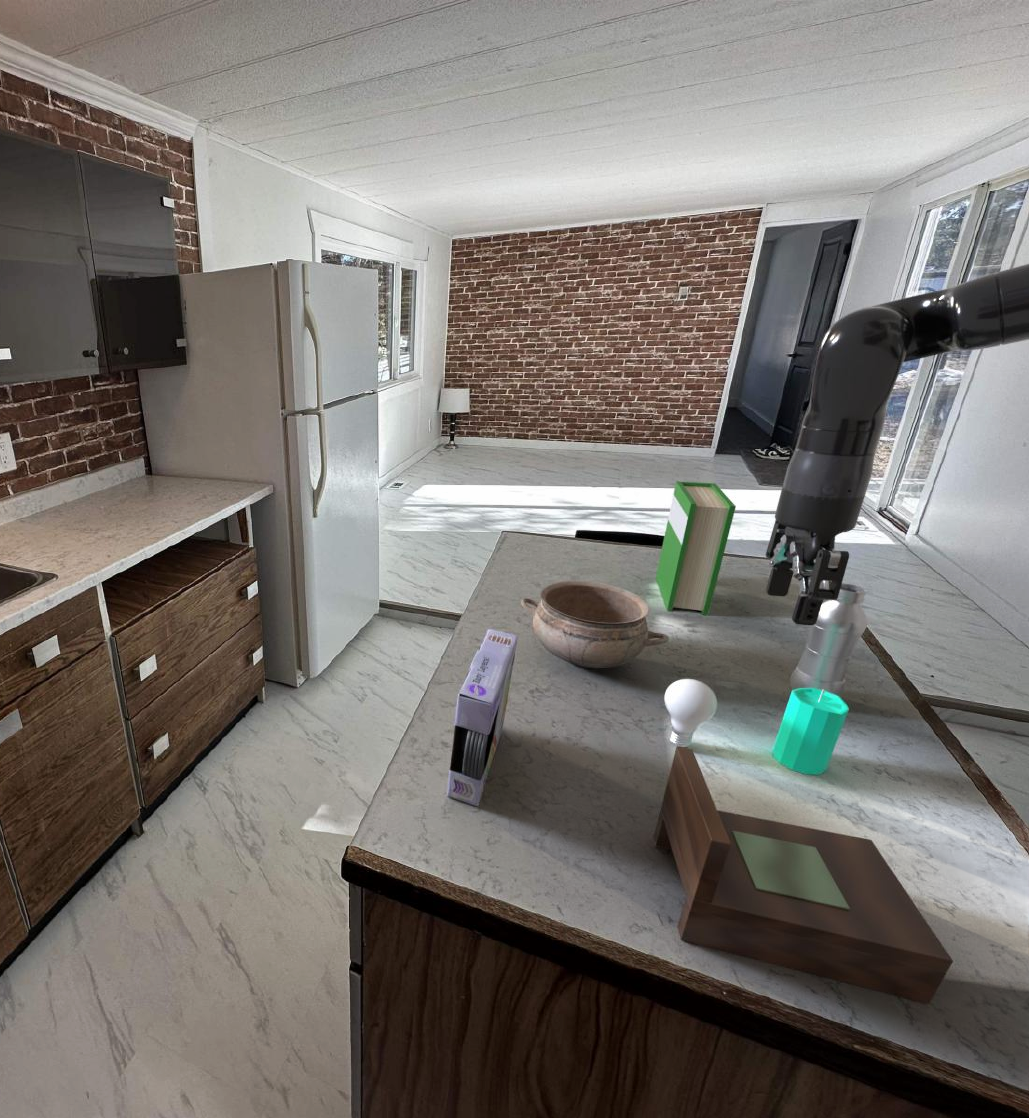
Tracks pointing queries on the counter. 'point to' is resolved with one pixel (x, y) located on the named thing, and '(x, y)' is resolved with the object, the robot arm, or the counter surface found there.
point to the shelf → (794, 894)
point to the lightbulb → (688, 708)
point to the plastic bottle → (832, 642)
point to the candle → (809, 730)
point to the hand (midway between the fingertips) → (788, 608)
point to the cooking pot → (592, 623)
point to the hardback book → (694, 545)
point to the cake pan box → (480, 716)
